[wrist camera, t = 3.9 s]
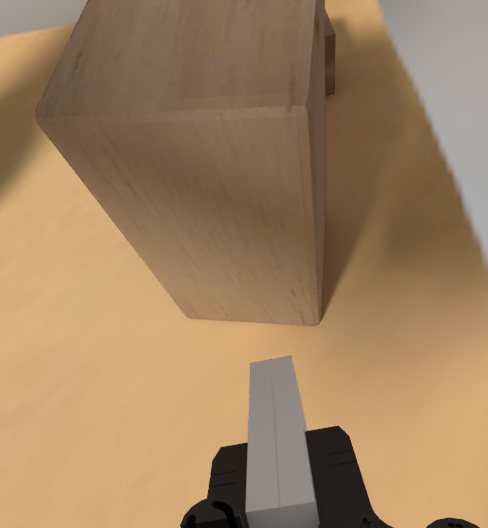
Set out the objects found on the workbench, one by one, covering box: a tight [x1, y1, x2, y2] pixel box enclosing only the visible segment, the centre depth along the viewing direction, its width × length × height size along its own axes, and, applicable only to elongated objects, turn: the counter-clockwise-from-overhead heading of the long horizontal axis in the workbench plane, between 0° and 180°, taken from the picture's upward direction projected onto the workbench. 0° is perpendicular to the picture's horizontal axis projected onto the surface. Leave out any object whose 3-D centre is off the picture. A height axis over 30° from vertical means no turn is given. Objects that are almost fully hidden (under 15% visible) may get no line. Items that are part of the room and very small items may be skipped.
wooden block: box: [36, 0, 326, 326], centre depth 25 cm, size 10×10×20 cm
